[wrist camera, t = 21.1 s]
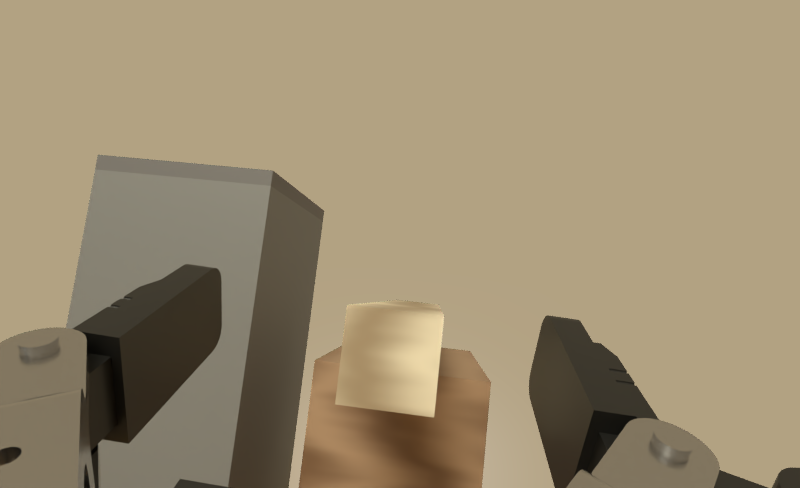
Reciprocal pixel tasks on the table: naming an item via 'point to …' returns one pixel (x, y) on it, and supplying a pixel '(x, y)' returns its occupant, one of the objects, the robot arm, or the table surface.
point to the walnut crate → (398, 433)
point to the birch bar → (391, 357)
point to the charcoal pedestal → (241, 312)
